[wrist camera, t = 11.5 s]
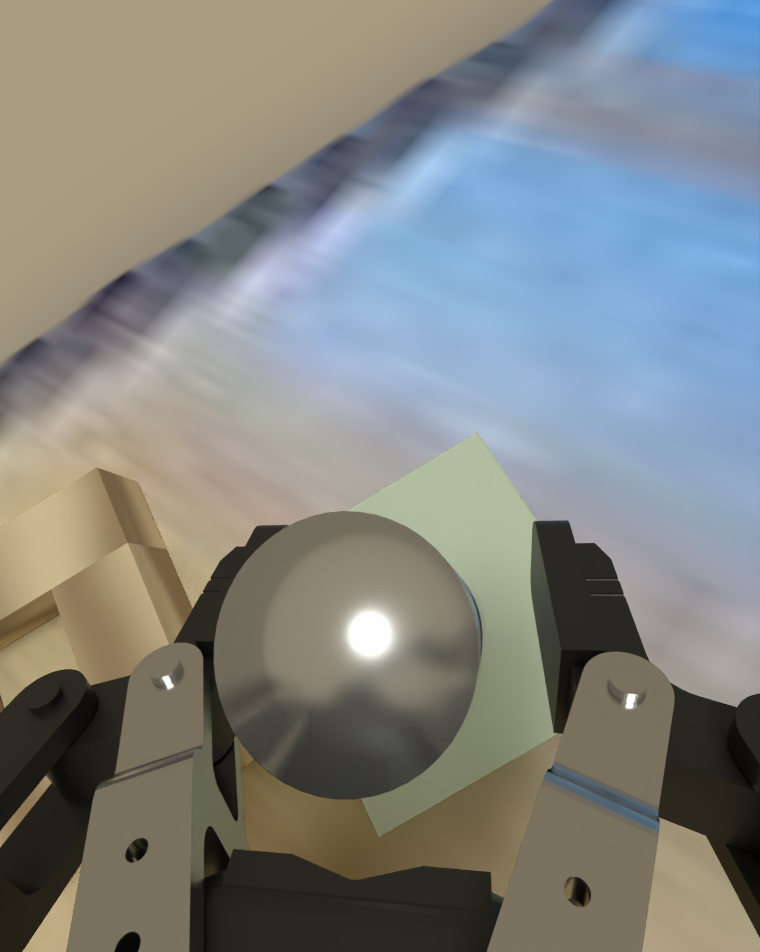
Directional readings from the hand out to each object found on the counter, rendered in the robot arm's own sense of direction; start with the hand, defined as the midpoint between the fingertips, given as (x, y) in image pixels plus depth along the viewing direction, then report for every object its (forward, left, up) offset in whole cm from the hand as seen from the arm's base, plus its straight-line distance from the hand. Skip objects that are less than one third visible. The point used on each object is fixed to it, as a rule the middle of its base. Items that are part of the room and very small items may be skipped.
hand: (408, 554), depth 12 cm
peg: (+1, +2, -7) cm, 7 cm away
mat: (+1, +2, -7) cm, 7 cm away
